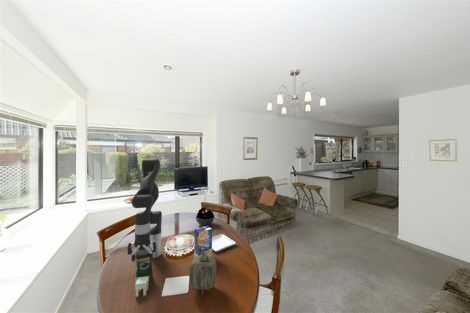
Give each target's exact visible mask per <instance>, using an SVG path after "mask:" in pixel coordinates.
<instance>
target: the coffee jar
mask: <svg viewBox="0 0 470 313" xmlns="http://www.w3.org/2000/svg"><path fill="white" fill-rule="evenodd" d="M152 259H153V258H152ZM152 259H151V260H150V253H149V251H147V250H146V249H145V250H137V251H136V252H135V262H136V263H135V264H136V267H135V279H134V280H135V283H136V282H137V279H138V277H146V276H149V282H150V281H152V279H153V278H154V273H153V265H152V264H153V262H152Z"/></svg>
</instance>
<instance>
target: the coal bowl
mask: <svg viewBox="0 0 470 313" xmlns="http://www.w3.org/2000/svg"><path fill="white" fill-rule="evenodd" d="M206 209H207V207H202V208H200V209H198V212H197V214H196V216H195V221H196V223H197V224H198V225H200V226H201V227H205V226H210V225H211V224H213V222H214V221H215V216H216V215H214V212H213V211H212V210H210V209H207V210H206ZM205 210H206V211H205ZM204 211H205V212H204Z"/></svg>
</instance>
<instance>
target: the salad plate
mask: <svg viewBox="0 0 470 313" xmlns="http://www.w3.org/2000/svg"><path fill="white" fill-rule="evenodd" d="M234 245H236V241H234V240H233V239H231V238H229V237H228V236H226V235H225V234H223V233H221V234H218V235H215V236H212V251H214V253H215V252H216V253H217V252H220V251H222V250H225V249H227V248H230V247H233V246H234Z"/></svg>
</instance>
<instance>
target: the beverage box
mask: <svg viewBox="0 0 470 313" xmlns="http://www.w3.org/2000/svg"><path fill="white" fill-rule="evenodd" d="M212 237H213V228H212V227H210V225H208V226H201V227H198V228H195V229H194V242H193V243H194V244H193V245H194V250H193V251H194V253H193V254H194V256H193V258H194V257H195V256H199V255H201V254H200V253H203V251H204V253H206V252H209V253H207V254H206V255H211V256H213V254H212V253H213V249H212ZM199 247H208V248H209V249H210V251H209V250H208V249H207V248H200V249H199V250H198V248H199ZM197 250H198V252H200V253H198V252H197Z"/></svg>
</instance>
